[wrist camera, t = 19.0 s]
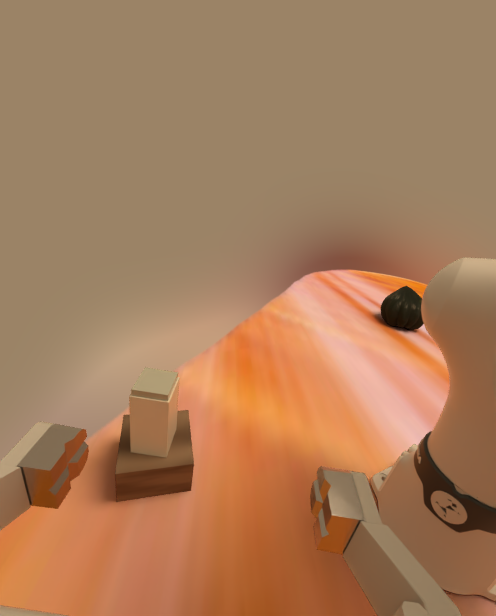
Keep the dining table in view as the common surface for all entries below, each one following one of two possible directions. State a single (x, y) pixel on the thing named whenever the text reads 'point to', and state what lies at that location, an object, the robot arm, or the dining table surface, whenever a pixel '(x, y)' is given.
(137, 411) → the tall cream box
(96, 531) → the dining table surface
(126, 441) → the walnut block
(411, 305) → the squash
